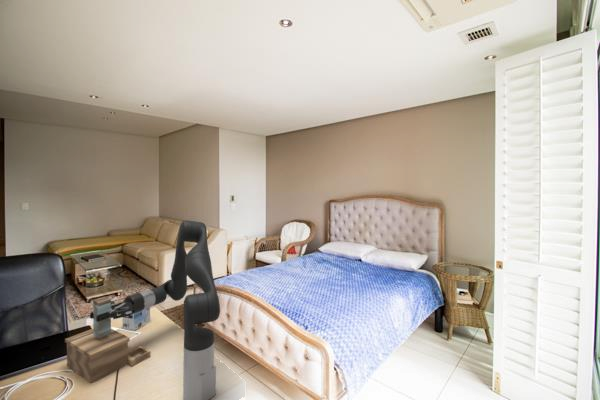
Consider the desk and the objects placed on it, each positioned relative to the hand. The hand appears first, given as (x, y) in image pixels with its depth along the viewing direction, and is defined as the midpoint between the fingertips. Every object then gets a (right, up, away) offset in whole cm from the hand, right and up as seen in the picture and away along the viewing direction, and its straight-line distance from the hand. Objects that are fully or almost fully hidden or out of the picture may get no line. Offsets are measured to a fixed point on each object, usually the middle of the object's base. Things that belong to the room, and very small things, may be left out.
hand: (93, 317), depth 101 cm
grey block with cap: (+1, -7, +3) cm, 8 cm away
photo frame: (-8, -19, +21) cm, 29 cm away
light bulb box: (-4, -18, +33) cm, 38 cm away
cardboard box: (+2, -19, +5) cm, 20 cm away
